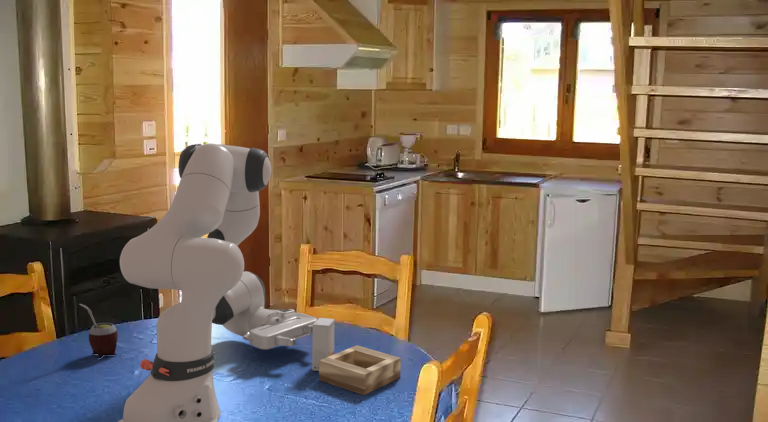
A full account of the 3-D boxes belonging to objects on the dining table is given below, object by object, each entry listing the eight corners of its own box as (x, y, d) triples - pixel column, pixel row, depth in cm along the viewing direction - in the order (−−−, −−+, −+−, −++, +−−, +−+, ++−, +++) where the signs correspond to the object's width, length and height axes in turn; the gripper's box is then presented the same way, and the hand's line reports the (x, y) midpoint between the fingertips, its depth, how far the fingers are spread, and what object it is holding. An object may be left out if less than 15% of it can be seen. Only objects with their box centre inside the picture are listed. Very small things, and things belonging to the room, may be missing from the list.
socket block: (364, 395, 175) (364, 374, 174) (319, 380, 183) (319, 360, 182) (400, 377, 185) (400, 358, 185) (356, 364, 194) (356, 345, 193)
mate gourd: (123, 351, 200) (120, 296, 198) (109, 362, 193) (106, 304, 190) (95, 349, 201) (93, 295, 199) (81, 360, 193) (78, 303, 191)
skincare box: (328, 372, 188) (328, 325, 186) (311, 370, 189) (311, 324, 187) (334, 363, 194) (335, 318, 192) (318, 362, 195) (318, 317, 193)
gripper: (238, 324, 193) (277, 336, 185) (295, 307, 209) (332, 317, 201) (239, 348, 194) (277, 360, 186) (295, 329, 210) (332, 340, 202)
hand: (306, 338), depth 194 cm, fingers open, 8 cm apart
